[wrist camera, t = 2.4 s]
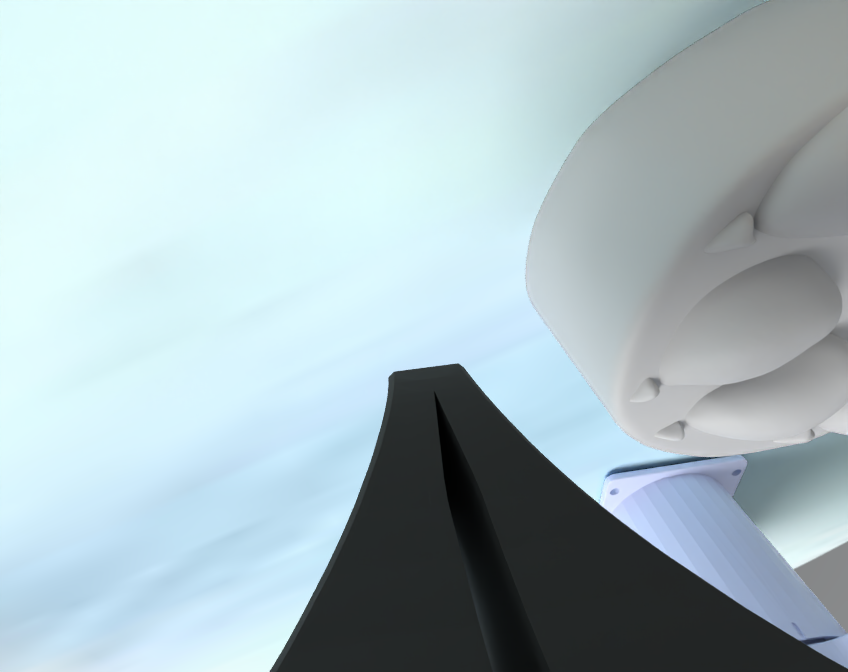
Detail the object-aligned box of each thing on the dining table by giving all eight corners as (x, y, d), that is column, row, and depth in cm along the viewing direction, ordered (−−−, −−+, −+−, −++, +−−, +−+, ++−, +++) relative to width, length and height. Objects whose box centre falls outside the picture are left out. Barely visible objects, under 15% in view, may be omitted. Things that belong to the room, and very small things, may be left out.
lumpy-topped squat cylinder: (869, 214, 19) (1200, 321, 11) (585, 384, 22) (706, 557, 14) (834, -64, 14) (1397, -189, 6) (466, 208, 16) (560, 339, 9)
